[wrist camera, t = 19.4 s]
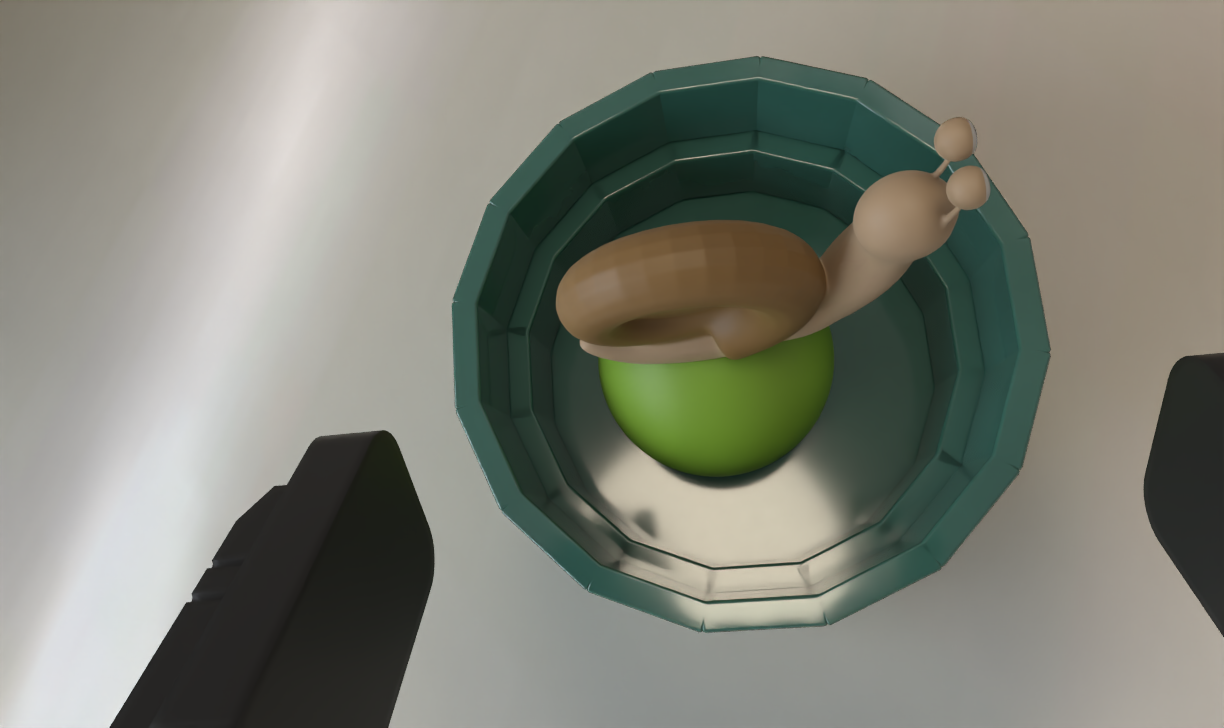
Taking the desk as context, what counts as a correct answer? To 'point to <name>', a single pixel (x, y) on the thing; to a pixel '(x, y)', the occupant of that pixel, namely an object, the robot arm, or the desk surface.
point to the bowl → (863, 346)
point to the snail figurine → (748, 315)
